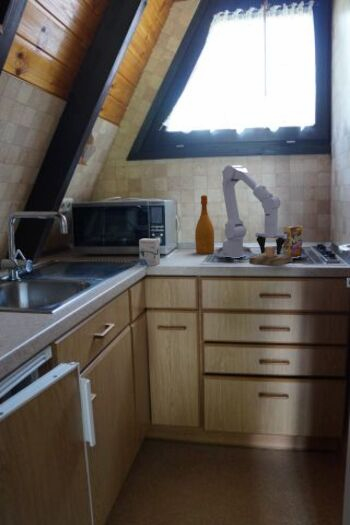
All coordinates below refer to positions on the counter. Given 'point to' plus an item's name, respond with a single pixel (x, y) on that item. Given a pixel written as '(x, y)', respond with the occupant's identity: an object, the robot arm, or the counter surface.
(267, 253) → the peg
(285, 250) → the candy box
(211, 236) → the wine bottle
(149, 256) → the ink box
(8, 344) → the counter surface
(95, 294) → the counter surface
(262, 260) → the socket block
